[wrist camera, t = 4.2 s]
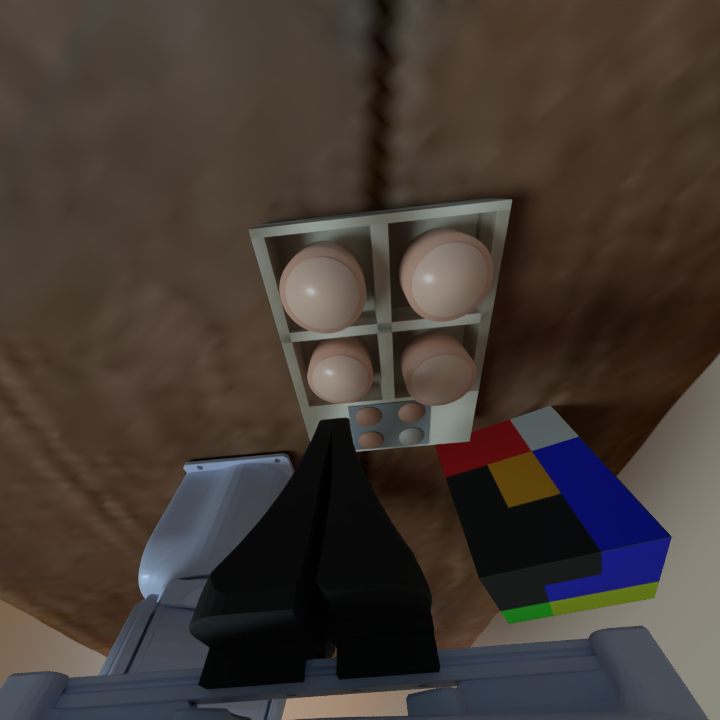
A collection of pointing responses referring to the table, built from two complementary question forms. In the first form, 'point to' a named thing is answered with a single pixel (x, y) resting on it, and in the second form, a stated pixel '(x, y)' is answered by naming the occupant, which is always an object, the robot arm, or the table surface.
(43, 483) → the table surface
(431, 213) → the egg tray
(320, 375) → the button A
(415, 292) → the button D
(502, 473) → the puzzle toy
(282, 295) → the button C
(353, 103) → the table surface
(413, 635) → the robot arm
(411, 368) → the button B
